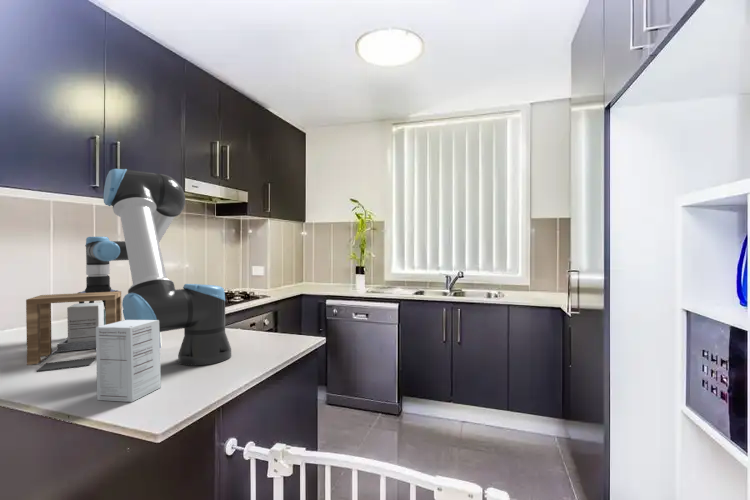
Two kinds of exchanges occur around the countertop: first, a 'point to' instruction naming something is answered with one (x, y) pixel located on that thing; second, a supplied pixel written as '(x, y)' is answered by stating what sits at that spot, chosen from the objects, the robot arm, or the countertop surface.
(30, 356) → the bridge
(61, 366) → the dark grey flat block
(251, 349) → the countertop surface
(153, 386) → the supplement box
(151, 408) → the countertop surface
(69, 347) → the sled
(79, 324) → the supplement box
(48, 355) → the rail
